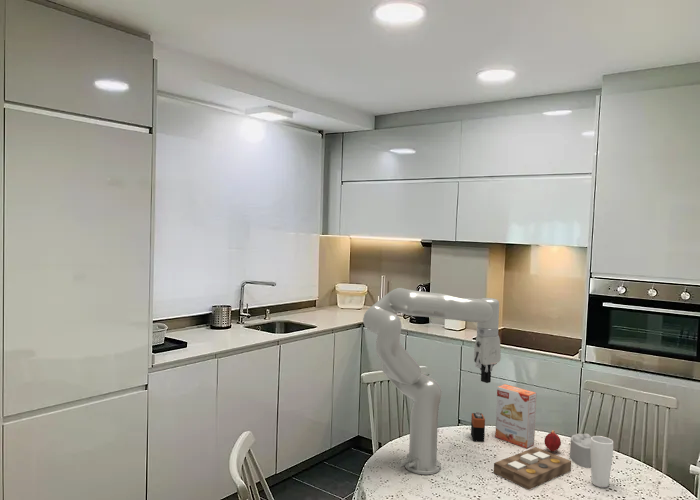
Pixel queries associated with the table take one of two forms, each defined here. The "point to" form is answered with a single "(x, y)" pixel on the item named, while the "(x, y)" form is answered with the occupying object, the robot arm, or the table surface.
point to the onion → (552, 441)
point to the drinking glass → (601, 460)
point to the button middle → (529, 459)
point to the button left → (516, 465)
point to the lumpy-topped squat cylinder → (581, 450)
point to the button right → (541, 455)
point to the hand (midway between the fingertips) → (485, 381)
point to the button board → (533, 469)
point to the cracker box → (515, 415)
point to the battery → (477, 427)
